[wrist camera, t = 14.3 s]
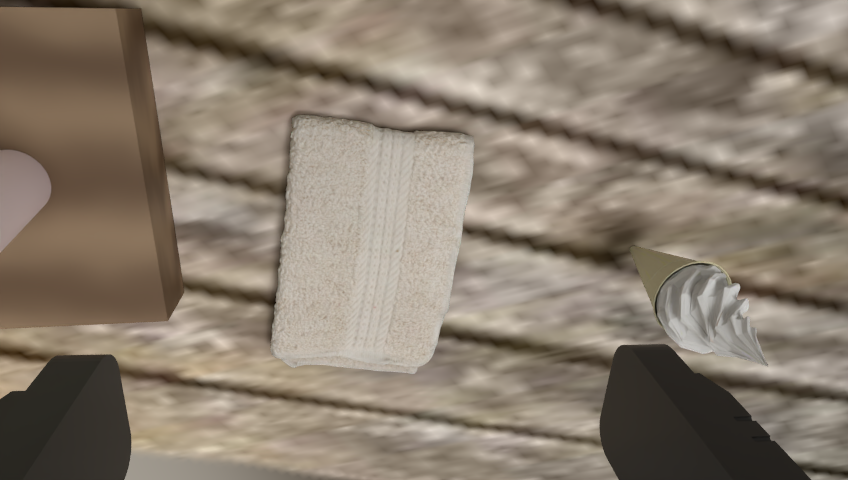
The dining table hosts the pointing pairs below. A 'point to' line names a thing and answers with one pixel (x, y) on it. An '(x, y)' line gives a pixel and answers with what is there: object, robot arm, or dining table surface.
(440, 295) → the washcloth
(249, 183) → the dining table surface
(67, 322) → the walnut base
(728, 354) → the ice cream cone
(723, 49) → the dining table surface
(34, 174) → the smoothie
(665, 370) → the robot arm
